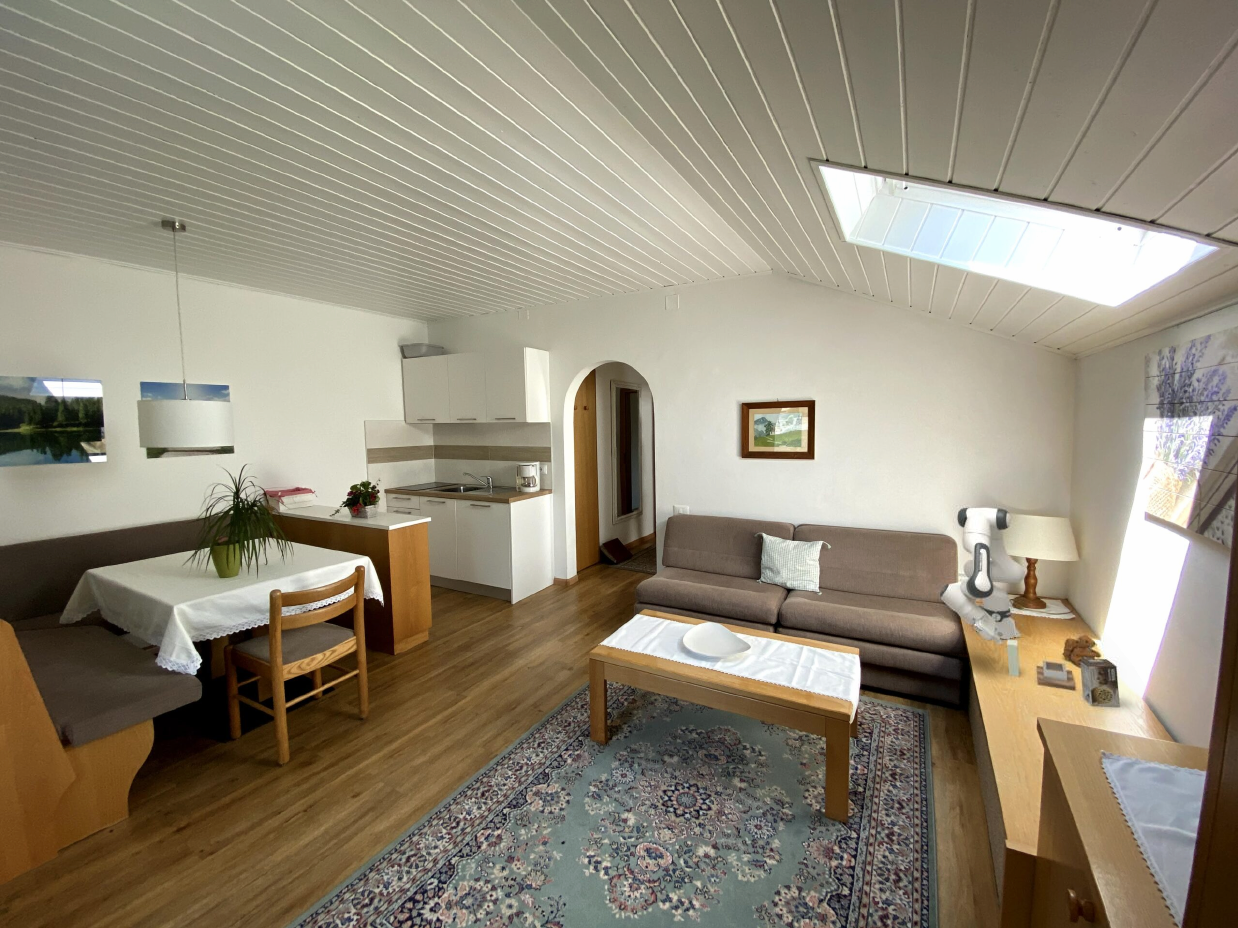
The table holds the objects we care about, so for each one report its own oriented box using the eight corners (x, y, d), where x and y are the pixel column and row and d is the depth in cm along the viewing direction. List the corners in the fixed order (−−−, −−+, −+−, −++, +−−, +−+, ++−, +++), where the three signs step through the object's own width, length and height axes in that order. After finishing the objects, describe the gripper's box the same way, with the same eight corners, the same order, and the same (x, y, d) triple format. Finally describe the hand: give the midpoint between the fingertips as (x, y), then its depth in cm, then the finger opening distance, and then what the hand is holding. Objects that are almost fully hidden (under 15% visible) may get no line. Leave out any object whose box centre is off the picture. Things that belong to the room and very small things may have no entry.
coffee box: (1109, 698, 205) (1107, 658, 204) (1120, 707, 199) (1117, 665, 198) (1081, 697, 208) (1079, 658, 207) (1091, 706, 201) (1088, 665, 201)
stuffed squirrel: (1089, 671, 226) (1087, 642, 226) (1055, 659, 240) (1053, 631, 239) (1106, 666, 229) (1104, 637, 228) (1071, 654, 242) (1069, 627, 242)
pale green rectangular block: (1009, 669, 235) (1007, 639, 234) (1019, 670, 233) (1017, 640, 232) (1009, 675, 230) (1007, 644, 230) (1019, 676, 228) (1017, 645, 228)
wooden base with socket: (1036, 668, 233) (1035, 656, 233) (1072, 673, 226) (1071, 661, 225) (1037, 684, 220) (1037, 671, 220) (1075, 690, 213) (1074, 677, 213)
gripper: (978, 618, 229) (1007, 644, 223) (980, 604, 245) (1008, 627, 240) (966, 627, 232) (995, 652, 226) (970, 612, 248) (996, 635, 243)
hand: (1001, 639), depth 233 cm, fingers open, 8 cm apart
